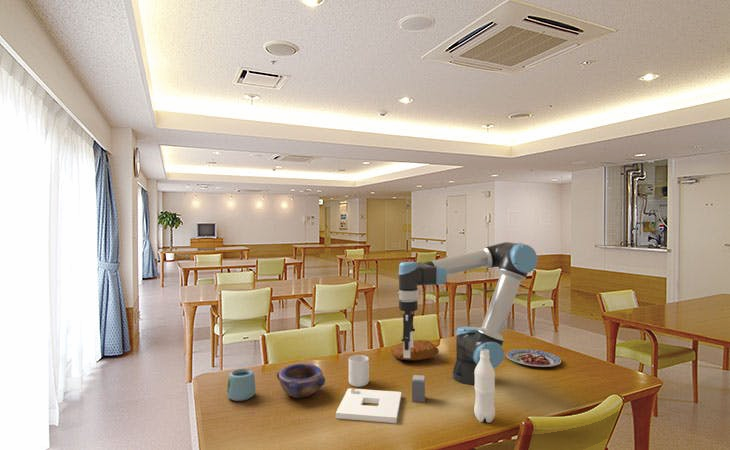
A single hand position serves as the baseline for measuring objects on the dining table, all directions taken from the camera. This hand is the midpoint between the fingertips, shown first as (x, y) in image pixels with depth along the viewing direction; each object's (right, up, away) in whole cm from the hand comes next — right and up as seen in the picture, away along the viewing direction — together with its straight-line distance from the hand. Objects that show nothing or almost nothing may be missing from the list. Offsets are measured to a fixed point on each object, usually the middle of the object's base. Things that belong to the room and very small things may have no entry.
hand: (408, 352), depth 167 cm
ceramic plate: (+68, -18, +42) cm, 82 cm away
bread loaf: (+8, -18, +45) cm, 49 cm away
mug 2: (-21, -18, +15) cm, 31 cm away
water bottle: (+25, -18, -19) cm, 37 cm away
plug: (+4, -18, -3) cm, 19 cm away
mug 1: (-69, -18, +1) cm, 71 cm away
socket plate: (-16, -18, -9) cm, 26 cm away
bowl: (-44, -18, +2) cm, 48 cm away
